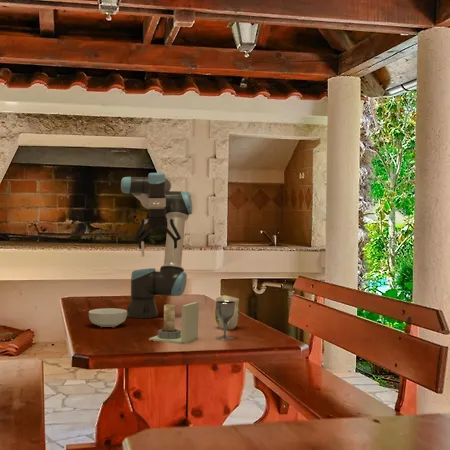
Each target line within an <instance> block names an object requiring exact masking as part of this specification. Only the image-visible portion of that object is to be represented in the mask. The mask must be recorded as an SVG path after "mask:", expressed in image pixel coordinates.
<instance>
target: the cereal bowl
mask: <svg viewBox="0 0 450 450" xmlns="http://www.w3.org/2000/svg"><path fill="white" fill-rule="evenodd" d="M127 310H128V309H124V308H114V307H113V308H111V307H110V308H108V307H107V308H95V309H91V310H89V311H88V319H89V321H90V322H91V323H92V324H94V325H96V326H98V327H99V326H100V328H102V327H112V328H116V326H117V327H118V326H119V325H120V324H123V323H124V322H125V321H126V320H127V317H128V316H127Z"/></svg>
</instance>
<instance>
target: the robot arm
mask: <svg viewBox="0 0 450 450" xmlns="http://www.w3.org/2000/svg"><path fill="white" fill-rule="evenodd" d="M171 182H172V181H170V180H169V178H167V177H166V174H165V172H150V173H148V175H147V176H145V177H144V176H125V177H122V179H121V181H120V190H121V192H122V193H123V194H128V195H129V194H131V195H132V196H134V197H135V198H136V199H137V200H138V201H140V205H141V206H142V207H143V208H145V209H146V210H148V219H145V218H143V219H141V223H140V226H139V228H138V231H137V232H136V235H135V236H134V240H135V241H137V242H138V248H139V250H140V251H141V257H142V258H143V257H145V241H144V239H145V238H146V236H148V234H149V233H150V232H151V230H152V229H153V230H164V231H165V232H166V238H165V239H166V240H165V247H164V248H165V250H164V259H163V264H162V265H161V266H160V269H159V271H157V270H156V268H154V267H153V268H152V267H151V268H150V267H149V268H140V269H136V270H133V271H131V278H130V302H129V303H128V304H129V305H128V306H127V307H128V308H127V309H126V310H127V317H128V318H132V317H133V318H132V319H152V318H153V317H154V318H157V317H159V311H158V307H157V304H156V300H155V297H156V296H164V297H165V296H166V297H167V296H168V297H169V296H171V297H180V296H182V295H183V294H184V292H185V290H186V286H187V277H188V276H187V273H186V272H185V269H184V267H182V260H183V251H184V249H183V248H184V247H183V246H184V237H185V225H186V221H187V220H188V219H189V216H190V215H191V216H192V214H193V201H192V195H191V194H190V192H189V191H181V190H180V191H179V190H178V191H176V190H175V191H172V183H171ZM147 223H148V225H149V227H147V229H146V230H145V232H144V233H143V234H142V232H143V229H144V228H145V225H147ZM166 224H167V225H166ZM141 234H142V235H141Z"/></svg>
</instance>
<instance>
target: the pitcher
mask: <svg viewBox="0 0 450 450" xmlns="http://www.w3.org/2000/svg"><path fill="white" fill-rule="evenodd" d="M216 301H234V302H235V311H234V315H233V317H232V318H231V319H230V320H229V321H228V323H227V326H226V331H227V330H234V329H235V328H236V327H237V326H238V322H239V319H240V307H239V301H240V299H239V297H238V298H237V297H234V296H229V295H227V294H226V295H225V294H223V295H221V296H218V297H216V298H215V302H216ZM214 319H215V322H216V325H217V327H218V328H219V329H220V330H224V325H223V322H222V321H221V320H220V318H219V317H218V316H217V312H216V308H214Z"/></svg>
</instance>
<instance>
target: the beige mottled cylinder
mask: <svg viewBox="0 0 450 450" xmlns="http://www.w3.org/2000/svg"><path fill="white" fill-rule="evenodd" d="M175 317H176V304H164V305H163V329H164V332H175V329H176V327H175V326H176V325H175V324H176V323H175V322H176V321H175V320H176V318H175Z"/></svg>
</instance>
